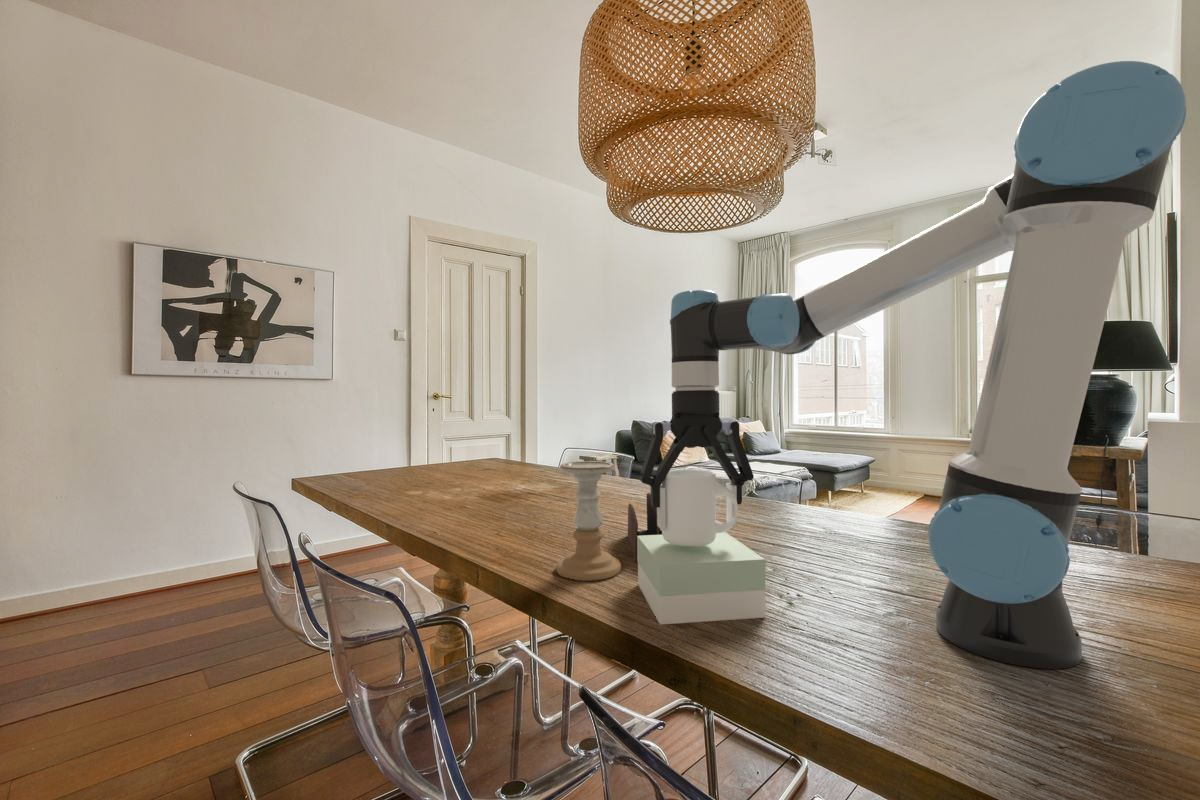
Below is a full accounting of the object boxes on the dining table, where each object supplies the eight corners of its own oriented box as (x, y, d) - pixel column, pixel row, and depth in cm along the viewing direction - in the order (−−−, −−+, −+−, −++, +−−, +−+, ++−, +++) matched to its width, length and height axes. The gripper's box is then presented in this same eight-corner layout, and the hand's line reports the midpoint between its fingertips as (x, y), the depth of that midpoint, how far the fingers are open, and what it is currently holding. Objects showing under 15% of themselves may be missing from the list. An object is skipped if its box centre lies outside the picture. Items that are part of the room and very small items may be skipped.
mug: (737, 551, 78) (736, 479, 78) (657, 545, 81) (657, 476, 81) (738, 536, 86) (738, 471, 86) (666, 531, 89) (666, 468, 89)
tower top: (765, 589, 77) (765, 559, 77) (660, 596, 75) (660, 564, 75) (724, 556, 93) (724, 531, 93) (637, 561, 91) (637, 535, 91)
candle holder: (622, 581, 93) (621, 468, 92) (553, 582, 93) (552, 469, 92) (619, 559, 105) (618, 459, 105) (558, 560, 105) (557, 460, 105)
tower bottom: (765, 620, 77) (765, 590, 77) (659, 627, 75) (659, 596, 75) (726, 582, 93) (726, 557, 93) (638, 587, 91) (637, 561, 91)
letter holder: (669, 535, 123) (668, 476, 123) (684, 562, 103) (683, 491, 103) (627, 536, 123) (626, 476, 123) (634, 563, 103) (633, 492, 103)
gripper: (755, 388, 88) (756, 517, 89) (619, 390, 86) (621, 523, 86) (775, 388, 81) (776, 528, 81) (627, 389, 78) (629, 535, 78)
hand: (696, 526), depth 84 cm, fingers closed on mug, 11 cm apart
